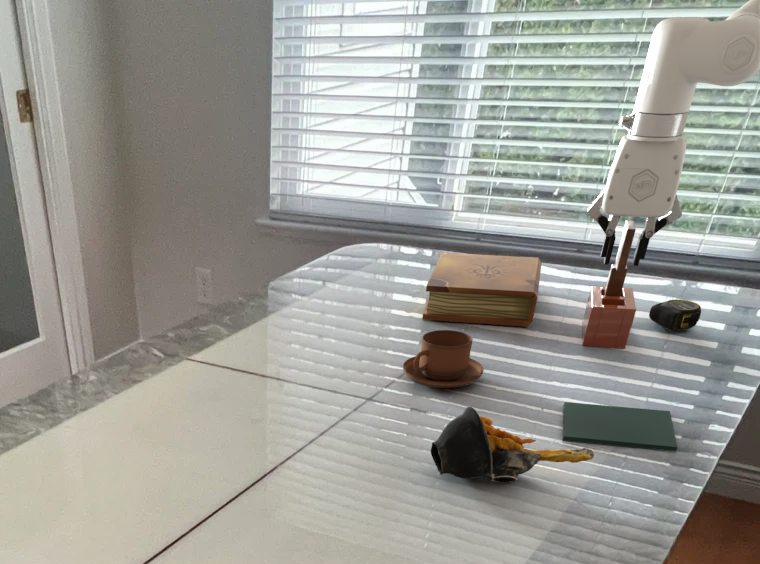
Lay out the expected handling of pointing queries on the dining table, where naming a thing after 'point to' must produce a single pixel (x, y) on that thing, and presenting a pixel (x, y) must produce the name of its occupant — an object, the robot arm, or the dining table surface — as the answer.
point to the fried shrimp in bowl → (490, 450)
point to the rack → (608, 318)
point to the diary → (483, 289)
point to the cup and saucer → (444, 361)
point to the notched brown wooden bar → (620, 262)
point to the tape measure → (676, 314)
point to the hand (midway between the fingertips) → (620, 261)
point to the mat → (618, 426)
